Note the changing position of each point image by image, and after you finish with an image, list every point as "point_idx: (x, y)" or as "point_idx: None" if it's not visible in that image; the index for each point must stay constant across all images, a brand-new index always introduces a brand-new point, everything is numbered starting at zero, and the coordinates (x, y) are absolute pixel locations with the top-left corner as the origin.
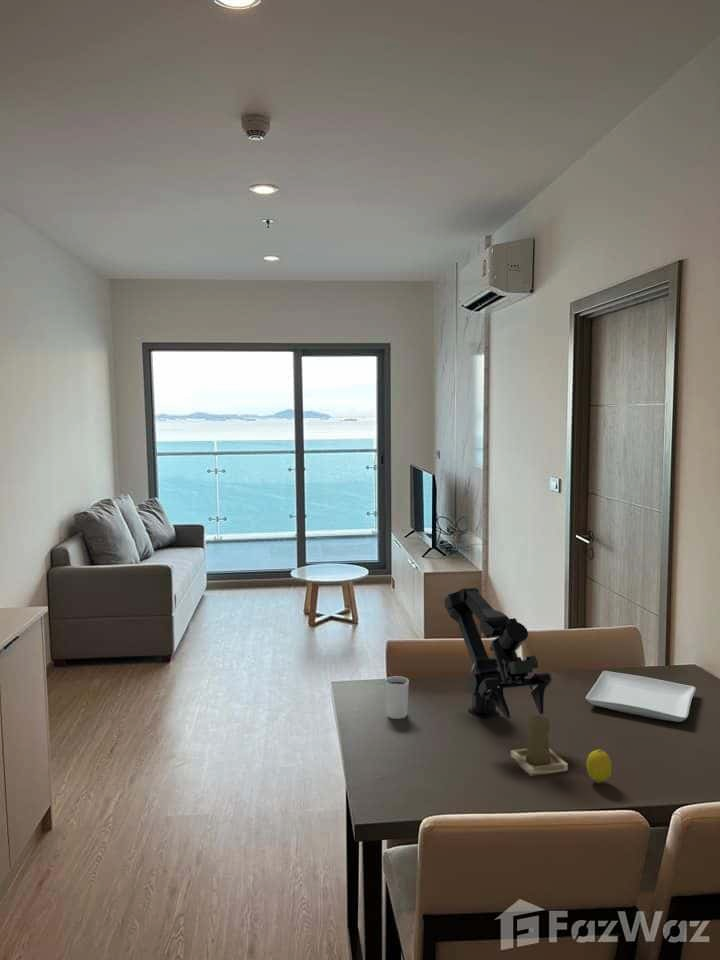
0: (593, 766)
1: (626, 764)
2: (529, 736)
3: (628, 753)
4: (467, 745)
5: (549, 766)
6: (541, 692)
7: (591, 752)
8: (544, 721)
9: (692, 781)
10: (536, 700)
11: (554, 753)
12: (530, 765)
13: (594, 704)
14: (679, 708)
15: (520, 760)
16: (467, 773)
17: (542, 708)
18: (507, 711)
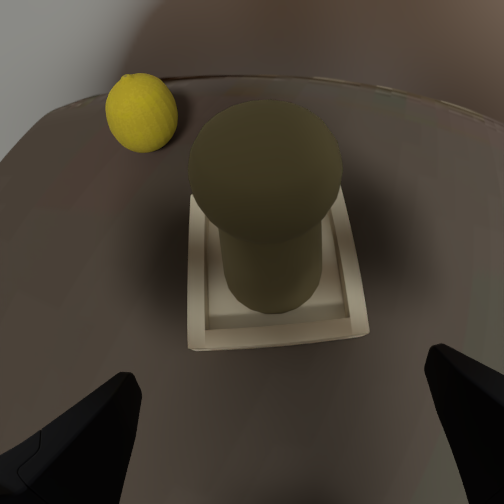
0: (169, 90)
1: (40, 223)
2: (318, 230)
3: (5, 274)
4: None
5: None
6: (3, 474)
7: (141, 93)
8: (244, 105)
9: (16, 158)
10: (97, 496)
11: (191, 275)
12: None
13: None
14: None
15: (354, 245)
16: (499, 242)
17: (102, 391)
18: (466, 363)
